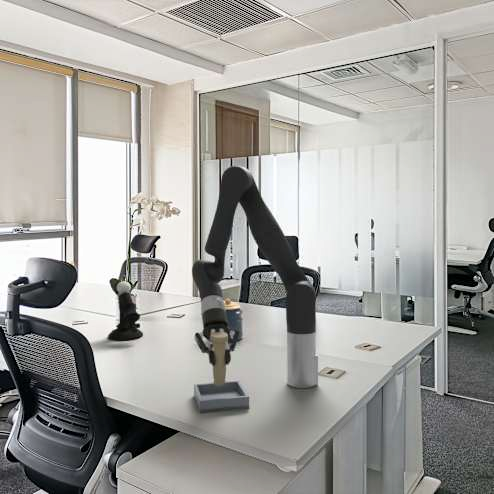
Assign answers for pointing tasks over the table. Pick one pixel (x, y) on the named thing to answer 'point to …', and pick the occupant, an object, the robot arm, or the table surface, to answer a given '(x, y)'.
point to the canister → (234, 318)
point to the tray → (221, 397)
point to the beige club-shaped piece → (219, 357)
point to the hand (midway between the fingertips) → (220, 363)
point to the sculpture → (126, 316)
